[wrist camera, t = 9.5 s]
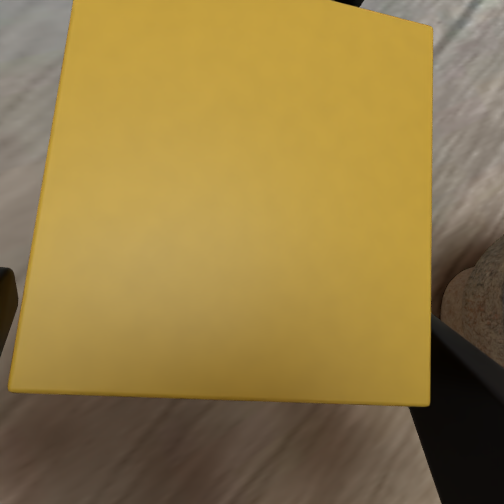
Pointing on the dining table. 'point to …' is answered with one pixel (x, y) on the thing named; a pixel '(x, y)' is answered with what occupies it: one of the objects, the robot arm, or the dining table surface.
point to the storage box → (234, 207)
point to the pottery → (479, 303)
